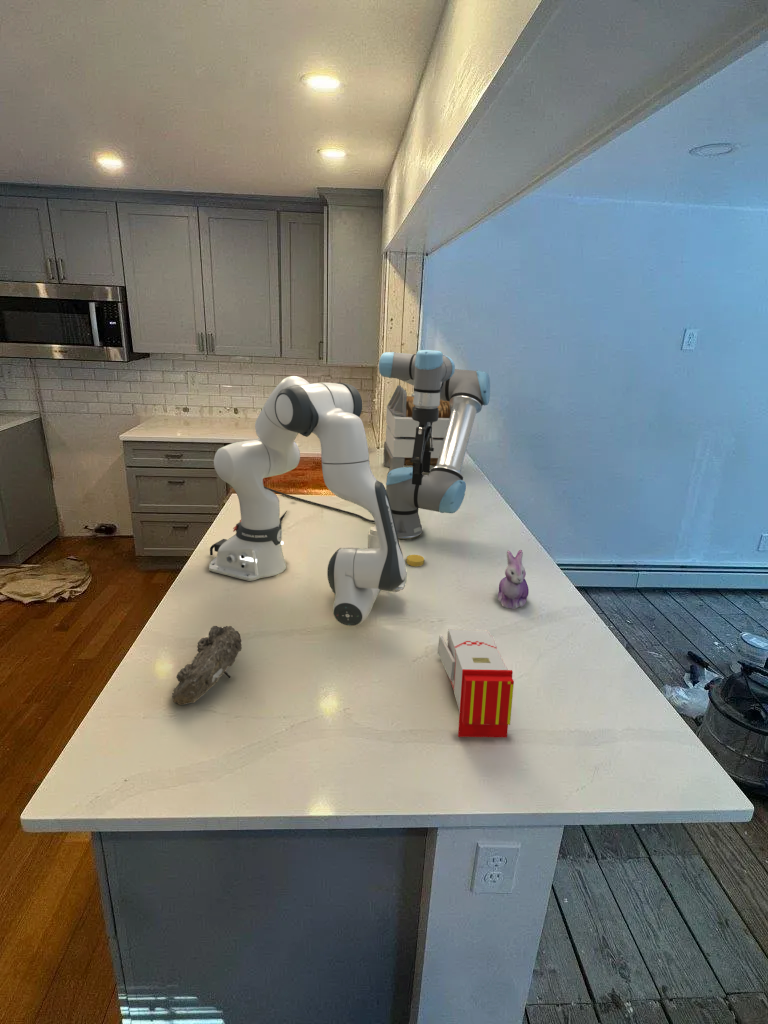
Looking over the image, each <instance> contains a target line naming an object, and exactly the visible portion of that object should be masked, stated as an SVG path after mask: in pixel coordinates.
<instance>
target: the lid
mask: <svg viewBox="0 0 768 1024" xmlns="http://www.w3.org/2000/svg"><path fill="white" fill-rule="evenodd" d="M405 559H406V560H405V564H406V565H408V566H411V567H422V566H423V565H424V564H425V557H424V556H422V555H419V554H409V555H407V556H406V558H405Z"/></svg>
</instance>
